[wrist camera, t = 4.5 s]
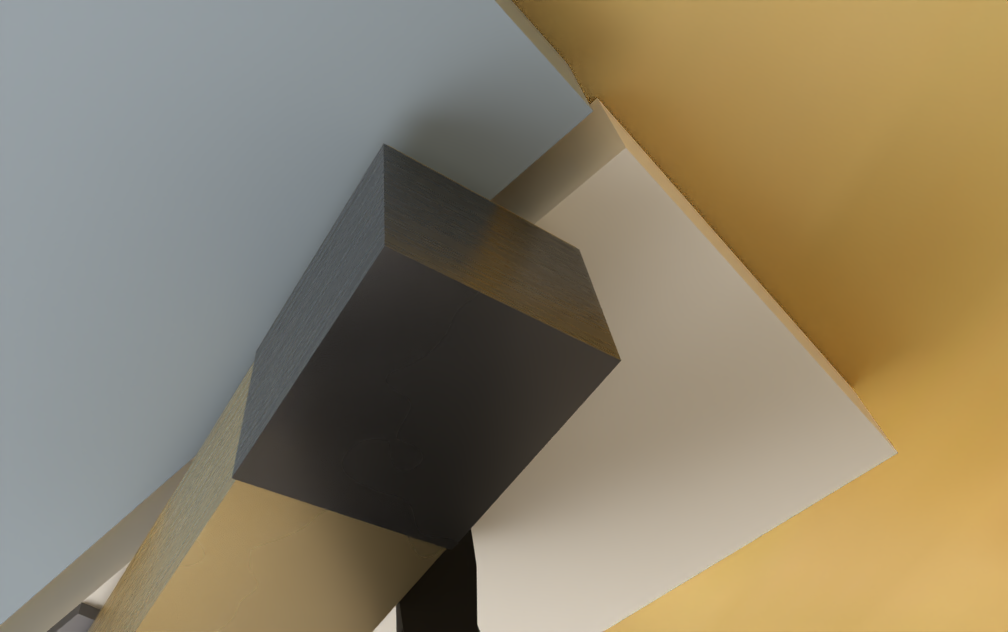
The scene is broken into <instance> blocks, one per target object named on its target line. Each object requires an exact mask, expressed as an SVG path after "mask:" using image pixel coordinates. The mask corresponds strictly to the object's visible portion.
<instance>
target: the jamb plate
mask: <svg viewBox="0 0 1008 632" xmlns="http://www.w3.org/2000/svg"><path fill="white" fill-rule="evenodd" d="M590 106H591V108H592V110H593V112H592V113H590V114H589V115H588V116H587V117H586V118H585V119H584V120H582V121H581V122H580V123H579V124H578V125H577V126H575V127H574V128H573V129H572V130H571V131H570V132H569V133H567V134H566V135H565V136H564V137H563V138H562V139H560V140H559V141H558V142H557V143H556V144H555V145H554V146H552V147H551V148H550V149H549V150H548V151H547V152H545V153H544V154H543V155H542V156H541V157H540V158H539V159H537V160H536V161H535V162H534V163H533V164H532V165H530V166H529V167H528V168H527V169H526V170H525V171H524V172H522V173H521V174H520V175H519V176H518V177H517V178H515V179H514V180H513V181H512V182H511V183H510V184H509V185H507V186H506V187H505V188H504V189H503V190H502V191H500V192H499V193H498V194H497V195H496V196H495V197H494V198H492V199H491V200H490V201H492V202H494V203H496V204H498V205H500V206H501V207H503V208H505V209H507V210H509V211H511V212H512V213H514V214H516V215H518V216H520V217H522V218H524V219H525V220H527V221H529V222H531V223H533V224H535V225H536V226H538V227H540V228H542V229H544V230H546V231H547V232H549V233H551V234H553V235H555V236H557V237H559V238H560V239H562V240H564V241H566V242H568V243H570V244H571V245H573V246H575V247H576V248H577V249H579V250H580V252H581V255H582V258H583V260H584V263H585V266H586V268H587V271H588V274H589V276H590V279H591V282H592V284H593V287H594V290H595V292H596V295H597V298H598V300H599V303H600V306H601V308H602V311H603V314H604V316H605V319H606V322H607V324H608V327H609V330H610V332H611V335H612V337H613V340H614V343H615V345H616V348H617V351H618V353H619V356H620V359H621V361H620V363H619V364H618V365H617V366H616V367H615V368H614V369H613V370H612V372H611V373H610V374H609V375H608V376H607V377H606V378H605V379H604V380H603V382H602V383H601V384H600V385H599V386H598V387H597V388H596V389H595V391H594V392H593V393H592V394H591V395H590V396H589V397H588V398H587V399H586V401H585V402H584V403H583V404H582V405H581V406H580V407H579V408H578V410H577V411H576V412H575V413H574V414H573V415H572V416H571V417H570V418H569V420H568V421H567V422H566V423H565V424H564V425H563V426H562V427H561V429H560V430H559V431H558V432H557V433H556V434H555V435H554V436H553V437H552V439H551V440H550V441H549V442H548V443H547V444H546V445H545V446H544V447H543V449H542V450H541V451H540V452H539V453H538V454H537V455H536V456H535V458H534V459H533V460H532V461H531V462H530V463H529V464H528V465H527V466H526V468H525V469H524V470H523V471H522V472H521V473H520V474H519V475H518V477H517V478H516V479H515V480H514V481H513V482H512V483H511V484H510V485H509V487H508V488H507V489H506V490H505V491H504V492H503V493H502V494H501V496H500V497H499V498H498V499H497V500H496V501H495V502H494V503H493V504H492V506H491V507H490V508H489V509H488V510H487V511H486V512H485V513H484V515H483V516H482V517H481V518H480V519H479V520H478V521H477V522H476V523H475V525H474V526H473V527H472V528H471V532H472V538H473V544H474V551H475V558H476V565H477V625H478V627H479V630H480V632H603V631H605V630H607V629H608V628H610V627H612V626H613V625H615V624H616V623H618V622H620V621H621V620H623V619H625V618H626V617H628V616H630V615H631V614H633V613H635V612H636V611H638V610H640V609H641V608H643V607H645V606H646V605H648V604H649V603H651V602H653V601H654V600H656V599H658V598H659V597H661V596H663V595H664V594H666V593H668V592H669V591H671V590H673V589H674V588H676V587H678V586H679V585H681V584H682V583H684V582H686V581H687V580H689V579H691V578H692V577H694V576H696V575H697V574H699V573H701V572H702V571H704V570H706V569H707V568H709V567H711V566H712V565H714V564H715V563H717V562H719V561H720V560H722V559H724V558H725V557H727V556H729V555H730V554H732V553H734V552H735V551H737V550H739V549H740V548H742V547H744V546H745V545H747V544H749V543H750V542H752V541H753V540H755V539H757V538H758V537H760V536H762V535H763V534H765V533H767V532H768V531H770V530H772V529H773V528H775V527H777V526H778V525H780V524H782V523H783V522H785V521H786V520H788V519H790V518H791V517H793V516H795V515H796V514H798V513H800V512H801V511H803V510H805V509H806V508H808V507H810V506H811V505H813V504H815V503H816V502H818V501H819V500H821V499H823V498H824V497H826V496H828V495H829V494H831V493H833V492H834V491H836V490H838V489H839V488H841V487H843V486H844V485H846V484H848V483H849V482H851V481H852V480H854V479H856V478H857V477H859V476H861V475H862V474H864V473H866V472H867V471H869V470H871V469H872V468H874V467H876V466H877V465H879V464H881V463H882V462H884V461H886V460H887V459H889V458H890V457H892V456H894V455H895V454H897V453H898V452H897V451H896V449H895V448H894V447H893V445H892V444H891V442H890V441H889V439H888V438H887V437H886V435H885V434H884V432H883V431H882V430H881V428H880V427H879V425H878V424H877V422H876V421H875V420H874V418H873V417H872V415H871V414H870V413H869V411H868V410H867V408H866V407H865V405H864V404H863V403H862V401H861V400H860V398H859V397H858V395H857V394H856V393H855V391H854V390H853V389H852V388H851V386H850V385H849V384H848V383H847V382H846V381H845V380H844V378H843V377H842V376H841V375H840V374H839V373H838V372H837V370H836V369H835V368H834V367H833V366H832V365H831V364H830V362H829V361H828V360H827V359H826V358H825V357H824V356H823V354H822V353H821V352H820V351H819V350H818V349H817V348H816V347H815V345H814V344H813V343H812V342H811V341H810V340H809V339H808V337H807V336H806V335H805V334H804V333H803V332H802V331H801V329H800V328H799V327H798V326H797V325H796V324H795V323H794V321H793V320H792V319H791V318H790V317H789V316H788V315H787V313H786V312H785V311H784V310H783V309H782V308H781V307H780V305H779V304H778V303H777V302H776V301H775V300H774V299H773V297H772V296H771V295H770V294H769V293H768V292H767V291H766V290H765V288H764V287H763V286H762V285H761V284H760V283H759V282H758V280H757V279H756V278H755V277H754V276H753V275H752V274H751V272H750V271H749V270H748V269H747V268H746V267H745V266H744V264H743V263H742V262H741V261H740V260H739V259H738V258H737V256H736V255H735V254H734V253H733V252H732V251H731V250H730V248H729V247H728V246H727V245H726V244H725V243H724V242H723V241H722V239H721V238H720V237H719V236H718V235H717V234H716V233H715V231H714V230H713V229H712V228H711V227H710V226H709V225H708V223H707V222H706V221H705V220H704V219H703V218H702V217H701V215H700V214H699V213H698V212H697V211H696V210H695V209H694V207H693V206H692V205H691V204H690V203H689V202H688V201H687V199H686V198H685V197H684V196H683V195H682V194H681V193H680V192H679V190H678V189H677V188H676V187H675V186H674V185H673V184H672V182H671V181H670V180H669V179H668V178H667V177H666V176H665V174H664V173H663V172H662V171H661V170H660V169H659V168H658V166H657V165H656V164H655V163H654V162H653V161H652V160H651V158H650V157H649V156H648V155H647V154H646V153H645V152H644V150H643V149H642V148H641V147H640V146H639V145H638V144H637V142H636V141H635V140H634V139H633V138H632V137H631V136H630V135H629V133H628V132H627V131H626V130H625V129H624V128H623V127H622V125H621V124H620V123H619V122H618V121H617V120H616V119H615V117H614V116H613V115H612V114H611V113H610V112H609V111H608V109H607V108H606V107H605V106H604V105H603V104H602V103H601V101H600V100H599V99H598V98H597V99H595V100H594V101H593V102H592V103H591V104H590ZM195 457H196V456H195ZM195 457H194V458H195ZM194 458H193V459H191V460H190V461H189V462H188V463H187V464H186V465H184V466H183V467H182V468H181V469H180V470H179V471H178V472H176V473H175V474H174V475H173V476H172V477H171V478H169V479H168V480H167V481H166V482H165V483H164V484H163V485H161V486H160V487H159V488H158V489H157V490H156V491H154V492H153V493H152V494H151V495H150V496H149V497H148V498H146V499H145V500H144V501H143V502H142V503H141V504H140V505H138V506H137V507H136V508H135V509H134V510H133V511H131V512H130V513H129V514H128V515H127V516H126V517H125V518H123V519H122V520H121V521H120V522H119V523H118V524H116V525H115V526H114V527H113V528H112V529H111V530H110V531H108V532H107V533H106V534H105V535H104V536H103V537H101V538H100V539H99V540H98V541H97V542H96V543H95V544H93V545H92V546H91V547H90V548H89V549H88V550H86V551H85V552H84V553H83V554H82V555H81V556H80V557H78V558H77V559H76V560H75V561H74V562H73V563H71V564H70V565H69V566H68V567H67V568H66V569H65V570H63V571H62V572H61V573H60V574H59V575H58V576H56V577H55V578H54V579H53V580H52V581H51V582H50V583H48V584H47V585H46V586H45V587H44V588H43V589H41V590H40V591H39V592H38V593H37V594H36V595H35V596H33V597H32V598H31V599H30V600H29V601H28V602H26V603H25V604H24V605H23V606H22V607H21V608H20V609H18V610H17V611H16V612H15V613H14V614H13V615H11V616H10V617H9V618H8V619H7V620H6V621H5V622H3V623H2V624H1V625H0V632H88V630H89V628H90V627H91V625H92V624H93V622H94V620H95V619H96V617H97V615H98V614H99V612H100V611H101V609H102V607H103V606H104V604H105V602H106V601H107V599H108V598H109V596H110V594H111V593H112V591H113V589H114V588H115V586H116V585H117V583H118V581H119V580H120V578H121V577H122V575H123V573H124V572H125V570H126V568H127V567H128V565H129V564H130V562H131V560H132V559H133V557H134V555H135V554H136V552H137V551H138V549H139V547H140V546H141V544H142V543H143V541H144V539H145V538H146V536H147V534H148V533H149V531H150V530H151V528H152V526H153V525H154V523H155V521H156V520H157V518H158V517H159V515H160V513H161V512H162V510H163V508H164V507H165V505H166V504H167V502H168V500H169V499H170V497H171V496H172V494H173V492H174V491H175V489H176V487H177V486H178V484H179V483H180V481H181V479H182V478H183V476H184V474H185V473H186V471H187V470H188V468H189V466H190V465H191V463H192V461H193V460H194ZM373 632H396V606H395V607H394V608H393V609H392V610H391V612H390V613H389V614H388V615H387V616H386V617H385V618H384V619H383V621H382V622H381V623H380V624H379V625H378V626H377V627H376V628H375V630H374V631H373Z"/></svg>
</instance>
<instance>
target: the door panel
mask: <svg viewBox="0 0 1008 632" xmlns="http://www.w3.org/2000/svg"><path fill="white" fill-rule="evenodd" d="M592 112H593V110H592V108H591V106H590V104H589V102H588V100H587V99H586V97H585V95H584V93H583V91H582V89H581V88H580V86H579V84H578V82H577V80H576V78H575V77H574V75H573V73H572V71H571V69H570V67H569V66H568V64H567V63H566V62H565V60H564V59H563V58H562V57H561V56H560V55H559V54H558V52H557V51H556V50H555V49H554V48H553V47H552V46H551V44H550V43H549V42H548V41H547V40H546V39H545V38H544V37H543V35H542V34H541V33H540V32H539V31H538V30H537V29H536V27H535V26H534V25H533V24H532V23H531V22H530V21H529V19H528V18H527V17H526V16H525V15H524V14H523V13H522V11H521V10H520V9H519V8H518V7H517V6H516V5H515V3H514V2H513V1H512V0H0V625H1V624H2V623H3V622H5V621H6V620H7V619H8V618H9V617H10V616H11V615H13V614H14V613H15V612H16V611H17V610H18V609H20V608H21V607H22V606H23V605H24V604H25V603H26V602H28V601H29V600H30V599H31V598H32V597H33V596H35V595H36V594H37V593H38V592H39V591H40V590H41V589H43V588H44V587H45V586H46V585H47V584H48V583H50V582H51V581H52V580H53V579H54V578H55V577H56V576H58V575H59V574H60V573H61V572H62V571H63V570H65V569H66V568H67V567H68V566H69V565H70V564H71V563H73V562H74V561H75V560H76V559H77V558H78V557H80V556H81V555H82V554H83V553H84V552H85V551H86V550H88V549H89V548H90V547H91V546H92V545H93V544H95V543H96V542H97V541H98V540H99V539H100V538H101V537H103V536H104V535H105V534H106V533H107V532H108V531H110V530H111V529H112V528H113V527H114V526H115V525H116V524H118V523H119V522H120V521H121V520H122V519H123V518H125V517H126V516H127V515H128V514H129V513H130V512H131V511H133V510H134V509H135V508H136V507H137V506H138V505H140V504H141V503H142V502H143V501H144V500H145V499H146V498H148V497H149V496H150V495H151V494H152V493H153V492H154V491H156V490H157V489H158V488H159V487H160V486H161V485H163V484H164V483H165V482H166V481H167V480H168V479H169V478H171V477H172V476H173V475H174V474H175V473H176V472H178V471H179V470H180V469H181V468H182V467H183V466H184V465H186V464H187V463H188V462H189V461H190V460H191V459H193V458H194V457H195V456H196V455H197V453H198V452H199V450H200V449H201V447H202V445H203V444H204V442H205V440H206V439H207V437H208V436H209V434H210V432H211V431H212V429H213V427H214V426H215V424H216V423H217V421H218V419H219V418H220V416H221V414H222V413H223V411H224V410H225V408H226V406H227V405H228V403H229V402H230V400H231V398H232V397H233V395H234V393H235V392H236V390H237V389H238V387H239V385H240V384H241V382H242V380H243V379H244V377H245V376H246V374H247V372H248V371H249V369H250V368H251V366H252V364H253V363H254V360H255V355H256V350H257V349H258V347H259V345H260V344H261V342H262V341H263V339H264V337H265V336H266V334H267V332H268V331H269V329H270V327H271V326H272V324H273V323H274V321H275V319H276V318H277V316H278V314H279V313H280V311H281V310H282V308H283V306H284V305H285V303H286V301H287V300H288V298H289V297H290V295H291V293H292V292H293V290H294V288H295V287H296V285H297V283H298V282H299V280H300V279H301V277H302V275H303V274H304V272H305V270H306V269H307V267H308V266H309V264H310V262H311V261H312V259H313V257H314V256H315V254H316V253H317V251H318V249H319V248H320V246H321V244H322V243H323V241H324V239H325V238H326V236H327V235H328V233H329V231H330V230H331V228H332V226H333V225H334V223H335V222H336V220H337V218H338V217H339V215H340V213H341V212H342V210H343V209H344V207H345V205H346V204H347V202H348V200H349V199H350V197H351V195H352V194H353V192H354V191H355V189H356V187H357V186H358V184H359V182H360V181H361V179H362V178H363V176H364V174H365V173H366V171H367V169H368V168H369V166H370V165H371V163H372V161H373V160H374V158H375V156H376V155H377V153H378V151H379V150H380V148H381V147H382V145H383V143H384V144H386V145H389V146H391V147H393V148H395V149H396V150H398V151H400V152H402V153H404V154H406V155H408V156H409V157H411V158H413V159H415V160H417V161H419V162H420V163H422V164H424V165H426V166H428V167H430V168H431V169H433V170H435V171H437V172H439V173H441V174H443V175H444V176H446V177H448V178H450V179H452V180H454V181H455V182H457V183H459V184H461V185H463V186H465V187H466V188H468V189H470V190H472V191H474V192H476V193H478V194H479V195H481V196H483V197H485V198H487V199H489V200H491V199H492V198H494V197H495V196H496V195H497V194H498V193H499V192H500V191H502V190H503V189H504V188H505V187H506V186H507V185H509V184H510V183H511V182H512V181H513V180H514V179H515V178H517V177H518V176H519V175H520V174H521V173H522V172H524V171H525V170H526V169H527V168H528V167H529V166H530V165H532V164H533V163H534V162H535V161H536V160H537V159H539V158H540V157H541V156H542V155H543V154H544V153H545V152H547V151H548V150H549V149H550V148H551V147H552V146H554V145H555V144H556V143H557V142H558V141H559V140H560V139H562V138H563V137H564V136H565V135H566V134H567V133H569V132H570V131H571V130H572V129H573V128H574V127H575V126H577V125H578V124H579V123H580V122H581V121H582V120H584V119H585V118H586V117H587V116H588V115H589V114H590V113H592Z"/></svg>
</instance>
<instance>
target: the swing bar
mask: <svg viewBox="0 0 1008 632" xmlns="http://www.w3.org/2000/svg"><path fill="white" fill-rule="evenodd" d="M620 361H621V359H620V356H619V353H618V351H617V348H616V345H615V343H614V340H613V337H612V335H611V332H610V330H609V327H608V324H607V322H606V319H605V316H604V314H603V311H602V308H601V306H600V303H599V300H598V298H597V295H596V292H595V290H594V287H593V284H592V282H591V279H590V276H589V274H588V271H587V268H586V266H585V263H584V260H583V258H582V255H581V252H580V250H579V249H577V248H576V247H575V246H573V245H571V244H570V243H568V242H566V241H564V240H562V239H560V238H559V237H557V236H555V235H553V234H551V233H549V232H547V231H546V230H544V229H542V228H540V227H538V226H536V225H535V224H533V223H531V222H529V221H527V220H525V219H524V218H522V217H520V216H518V215H516V214H514V213H512V212H511V211H509V210H507V209H505V208H503V207H501V206H500V205H498V204H496V203H494V202H492V201H490V200H489V199H487V198H485V197H483V196H481V195H479V194H478V193H476V192H474V191H472V190H470V189H468V188H466V187H465V186H463V185H461V184H459V183H457V182H455V181H454V180H452V179H450V178H448V177H446V176H444V175H443V174H441V173H439V172H437V171H435V170H433V169H431V168H430V167H428V166H426V165H424V164H422V163H420V162H419V161H417V160H415V159H413V158H411V157H409V156H408V155H406V154H404V153H402V152H400V151H398V150H396V149H395V148H393V147H391V146H389V145H386V144H384V143H383V145H382V147H381V148H380V150H379V151H378V153H377V155H376V156H375V158H374V160H373V161H372V163H371V165H370V166H369V168H368V169H367V171H366V173H365V174H364V176H363V178H362V179H361V181H360V182H359V184H358V186H357V187H356V189H355V191H354V192H353V194H352V195H351V197H350V199H349V200H348V202H347V204H346V205H345V207H344V209H343V210H342V212H341V213H340V215H339V217H338V218H337V220H336V222H335V223H334V225H333V226H332V228H331V230H330V231H329V233H328V235H327V236H326V238H325V239H324V241H323V243H322V244H321V246H320V248H319V249H318V251H317V253H316V254H315V256H314V257H313V259H312V261H311V262H310V264H309V266H308V267H307V269H306V270H305V272H304V274H303V275H302V277H301V279H300V280H299V282H298V283H297V285H296V287H295V288H294V290H293V292H292V293H291V295H290V297H289V298H288V300H287V301H286V303H285V305H284V306H283V308H282V310H281V311H280V313H279V314H278V316H277V318H276V319H275V321H274V323H273V324H272V326H271V327H270V329H269V331H268V332H267V334H266V336H265V337H264V339H263V341H262V342H261V344H260V345H259V347H258V349H257V350H256V355H255V360H254V363H253V364H252V366H251V368H250V369H249V371H248V372H247V374H246V376H245V377H244V379H243V380H242V382H241V384H240V385H239V387H238V389H237V390H236V392H235V393H234V395H233V397H232V398H231V400H230V402H229V403H228V405H227V406H226V408H225V410H224V411H223V413H222V414H221V416H220V418H219V419H218V421H217V423H216V424H215V426H214V427H213V429H212V431H211V432H210V434H209V436H208V437H207V439H206V440H205V442H204V444H203V445H202V447H201V449H200V450H199V452H198V453H197V455H196V457H195V458H194V460H193V461H192V463H191V465H190V466H189V468H188V470H187V471H186V473H185V474H184V476H183V478H182V479H181V481H180V483H179V484H178V486H177V487H176V489H175V491H174V492H173V494H172V496H171V497H170V499H169V500H168V502H167V504H166V505H165V507H164V508H163V510H162V512H161V513H160V515H159V517H158V518H157V520H156V521H155V523H154V525H153V526H152V528H151V530H150V531H149V533H148V534H147V536H146V538H145V539H144V541H143V543H142V544H141V546H140V547H139V549H138V551H137V552H136V554H135V555H134V557H133V559H132V560H131V562H130V564H129V565H128V567H127V568H126V570H125V572H124V573H123V575H122V577H121V578H120V580H119V581H118V583H117V585H116V586H115V588H114V589H113V591H112V593H111V594H110V596H109V598H108V599H107V601H106V602H105V604H104V606H103V607H102V609H101V611H100V612H99V614H98V615H97V617H96V619H95V620H94V622H93V624H92V625H91V627H90V628H89V630H88V632H373V631H374V630H375V628H376V627H377V626H378V625H379V624H380V623H381V622H382V621H383V619H384V618H385V617H386V616H387V615H388V614H389V613H390V612H391V610H392V609H393V608H394V607H395V606H396V605H397V604H398V603H399V601H400V600H401V599H402V598H403V597H404V596H405V595H406V594H407V592H408V591H409V590H410V589H411V588H412V587H413V586H414V585H415V583H416V582H417V581H418V580H419V579H420V578H421V577H422V576H423V574H424V573H425V572H426V571H427V570H428V569H429V568H430V567H431V565H432V564H433V563H434V562H435V561H436V560H437V559H438V558H439V556H440V555H441V554H442V553H443V552H444V551H445V550H446V549H449V550H452V549H453V548H454V547H455V546H456V545H457V544H458V542H459V541H460V540H461V539H462V538H463V537H464V536H465V535H466V533H467V532H468V531H469V530H470V529H471V528H472V527H473V526H474V525H475V523H476V522H477V521H478V520H479V519H480V518H481V517H482V516H483V515H484V513H485V512H486V511H487V510H488V509H489V508H490V507H491V506H492V504H493V503H494V502H495V501H496V500H497V499H498V498H499V497H500V496H501V494H502V493H503V492H504V491H505V490H506V489H507V488H508V487H509V485H510V484H511V483H512V482H513V481H514V480H515V479H516V478H517V477H518V475H519V474H520V473H521V472H522V471H523V470H524V469H525V468H526V466H527V465H528V464H529V463H530V462H531V461H532V460H533V459H534V458H535V456H536V455H537V454H538V453H539V452H540V451H541V450H542V449H543V447H544V446H545V445H546V444H547V443H548V442H549V441H550V440H551V439H552V437H553V436H554V435H555V434H556V433H557V432H558V431H559V430H560V429H561V427H562V426H563V425H564V424H565V423H566V422H567V421H568V420H569V418H570V417H571V416H572V415H573V414H574V413H575V412H576V411H577V410H578V408H579V407H580V406H581V405H582V404H583V403H584V402H585V401H586V399H587V398H588V397H589V396H590V395H591V394H592V393H593V392H594V391H595V389H596V388H597V387H598V386H599V385H600V384H601V383H602V382H603V380H604V379H605V378H606V377H607V376H608V375H609V374H610V373H611V372H612V370H613V369H614V368H615V367H616V366H617V365H618V364H619V363H620Z"/></svg>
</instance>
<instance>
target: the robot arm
mask: <svg viewBox="0 0 1008 632" xmlns="http://www.w3.org/2000/svg"><path fill="white" fill-rule="evenodd" d="M396 632H480V630H479V627H478V625H477V565H476V558H475V551H474V544H473V538H472V532H471V529H470V530H469V531H468V532H467V533H466V535H465V536H464V537H463V538H462V539H461V540H460V541H459V542H458V544H457V545H456V546H455V547H454V548H453V549H452V550H449V549H446V550H445V551H444V552H443V553H442V554H441V555H440V556H439V558H438V559H437V560H436V561H435V562H434V563H433V564H432V565H431V567H430V568H429V569H428V570H427V571H426V572H425V573H424V574H423V576H422V577H421V578H420V579H419V580H418V581H417V582H416V583H415V585H414V586H413V587H412V588H411V589H410V590H409V591H408V592H407V594H406V595H405V596H404V597H403V598H402V599H401V600H400V601H399V603H398V604H397V605H396Z"/></svg>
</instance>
